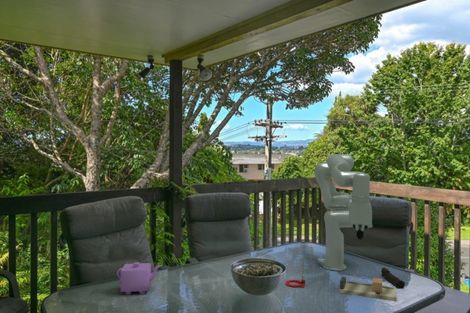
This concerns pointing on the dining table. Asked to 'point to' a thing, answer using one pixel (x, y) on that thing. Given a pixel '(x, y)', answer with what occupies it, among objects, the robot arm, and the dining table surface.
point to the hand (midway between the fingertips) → (359, 238)
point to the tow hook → (302, 282)
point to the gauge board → (366, 290)
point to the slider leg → (377, 285)
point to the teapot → (136, 277)
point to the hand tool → (392, 278)
